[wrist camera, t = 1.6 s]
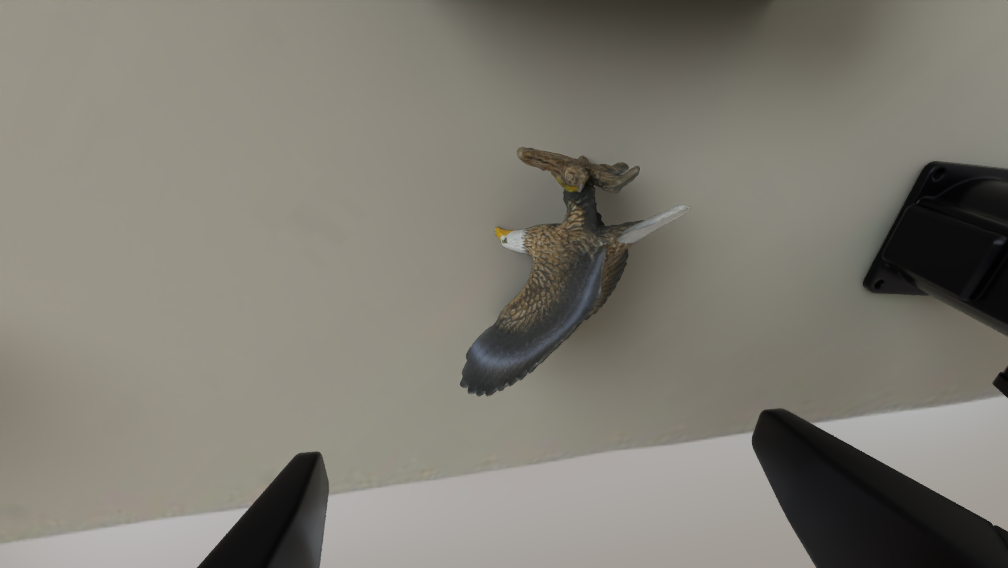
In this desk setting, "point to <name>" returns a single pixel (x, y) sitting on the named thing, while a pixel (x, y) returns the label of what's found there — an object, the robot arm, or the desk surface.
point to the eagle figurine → (558, 272)
